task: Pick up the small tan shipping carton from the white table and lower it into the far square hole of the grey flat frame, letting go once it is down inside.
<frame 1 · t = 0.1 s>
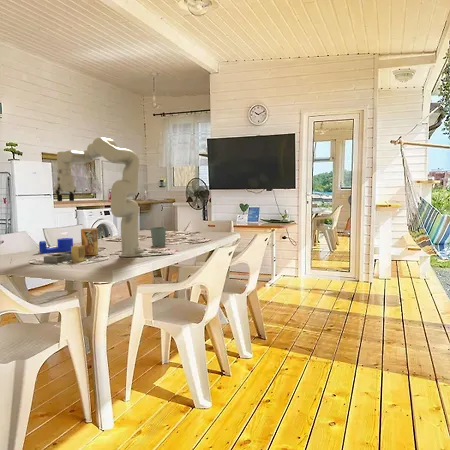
hand: (65, 201, 244), 31 cm above the table, tool pointing down, fingers open, 9 cm apart
tan shipping carton: (78, 261, 213), on the table
candy box: (90, 255, 235), on the table
bracket: (57, 252, 251), on the table
grey flat frame: (64, 259, 219), on the table
green cup: (158, 245, 271), on the table
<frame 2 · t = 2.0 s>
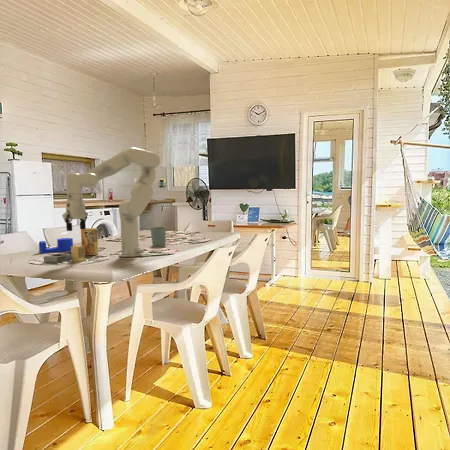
hand: (76, 229, 212), 17 cm above the table, tool pointing down, fingers open, 9 cm apart
nothing on the table moved.
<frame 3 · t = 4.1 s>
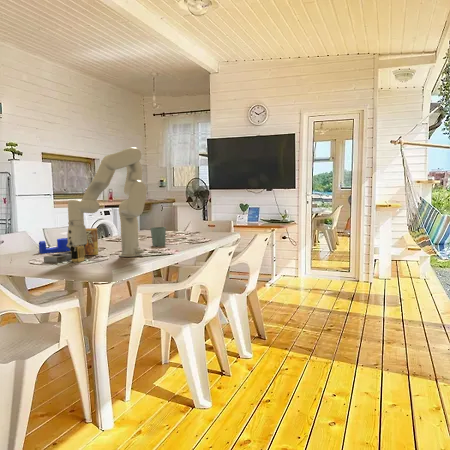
hand: (77, 257, 213), 2 cm above the table, tool pointing down, fingers closed on tan shipping carton, 4 cm apart
tan shipping carton: (78, 261, 213), on the table, touching gripper
everything else where it was.
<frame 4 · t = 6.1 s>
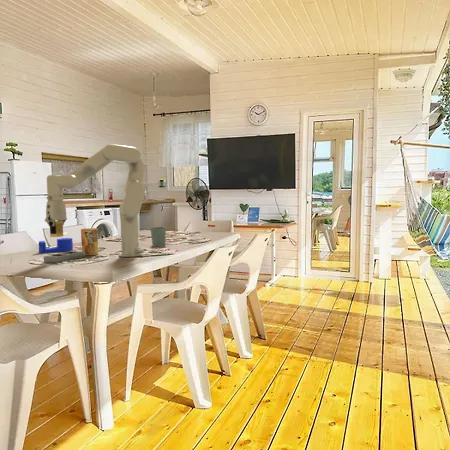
hand: (56, 232, 214), 15 cm above the table, tool pointing down, fingers closed on tan shipping carton, 4 cm apart
tan shipping carton: (56, 236, 214), point 13 cm above the table, touching gripper
everything else where it was.
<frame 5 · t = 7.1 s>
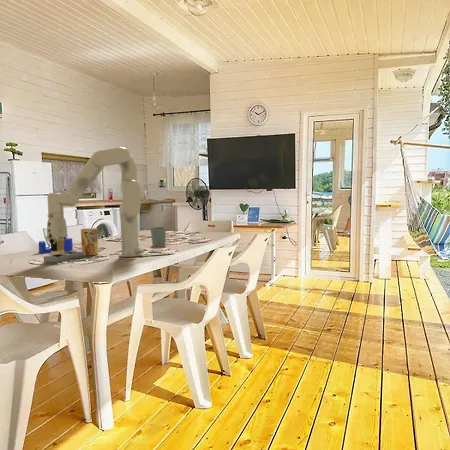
hand: (57, 250, 215), 6 cm above the table, tool pointing down, fingers closed on tan shipping carton, 4 cm apart
tan shipping carton: (57, 253, 215), point 4 cm above the table, touching gripper
everything else where it was.
when the fingers open (3 cm above the table, at t = 7.9 s): tan shipping carton stays where it is, resting on grey flat frame.
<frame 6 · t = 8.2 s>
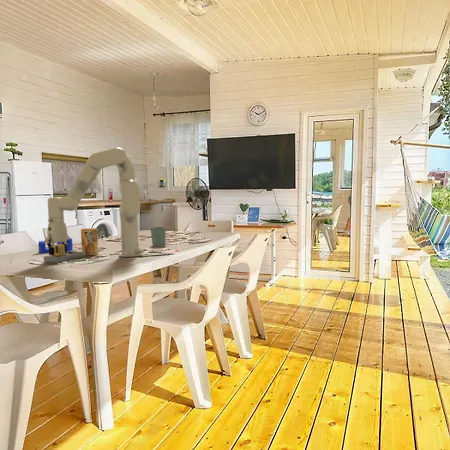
hand: (58, 253, 215), 4 cm above the table, tool pointing down, fingers open, 8 cm apart
tan shipping carton: (58, 259, 215), point 1 cm above the table, touching grey flat frame
everything else where it was.
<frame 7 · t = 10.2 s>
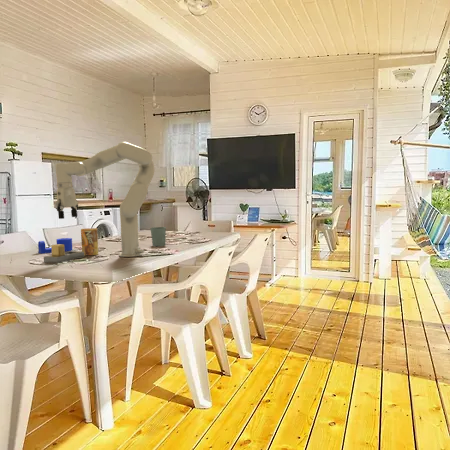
hand: (68, 217, 219), 23 cm above the table, tool pointing down, fingers open, 9 cm apart
nothing on the table moved.
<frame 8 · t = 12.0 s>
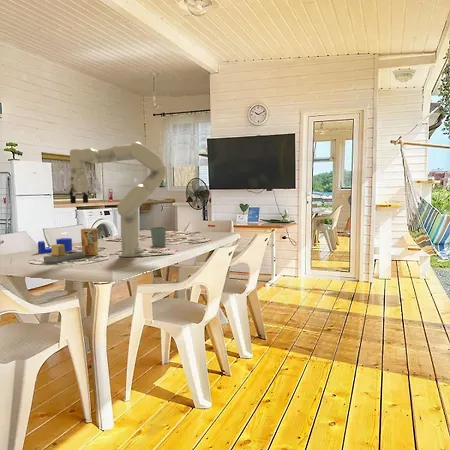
hand: (79, 203, 225), 30 cm above the table, tool pointing down, fingers open, 9 cm apart
nothing on the table moved.
at the end: tan shipping carton 0.1 cm from the target spot on the grey flat frame, point 0.6 cm above the grey flat frame's base; tan shipping carton tilted 0°; the gripper is holding nothing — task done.
